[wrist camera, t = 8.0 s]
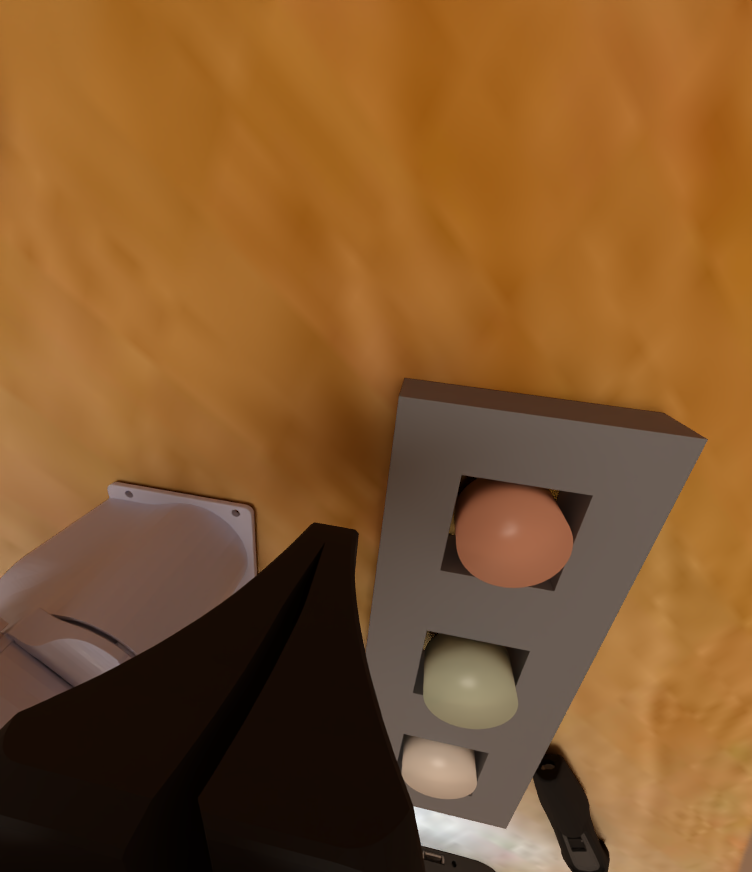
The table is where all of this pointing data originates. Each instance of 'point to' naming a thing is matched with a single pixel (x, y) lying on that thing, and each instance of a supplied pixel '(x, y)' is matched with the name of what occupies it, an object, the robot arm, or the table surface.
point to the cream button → (438, 768)
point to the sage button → (468, 682)
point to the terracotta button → (511, 533)
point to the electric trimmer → (570, 816)
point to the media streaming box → (450, 862)
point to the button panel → (499, 606)
